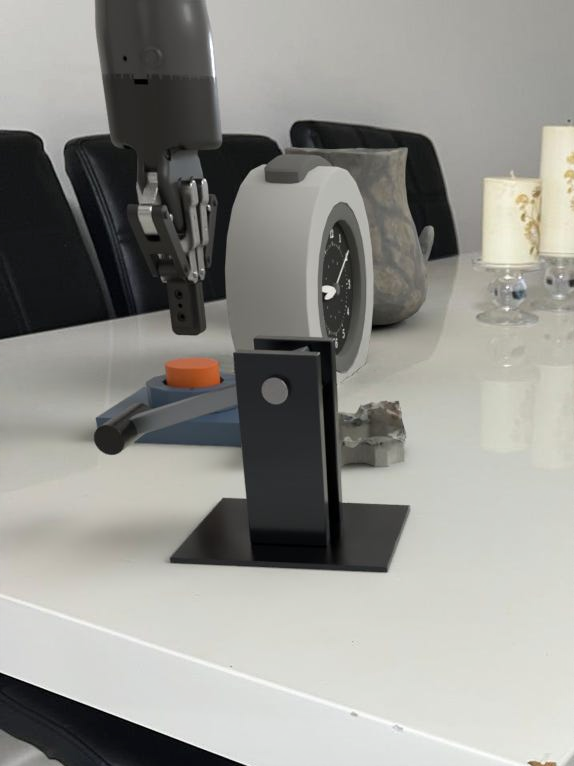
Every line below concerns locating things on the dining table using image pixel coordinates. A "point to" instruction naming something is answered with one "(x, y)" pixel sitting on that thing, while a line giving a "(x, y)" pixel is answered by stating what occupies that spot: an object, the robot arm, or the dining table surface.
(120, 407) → the control block
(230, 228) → the alarm clock
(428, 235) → the vessel
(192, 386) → the button
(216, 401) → the grey crank handle
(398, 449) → the egg carton
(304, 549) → the black lever stand
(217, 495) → the dining table surface
